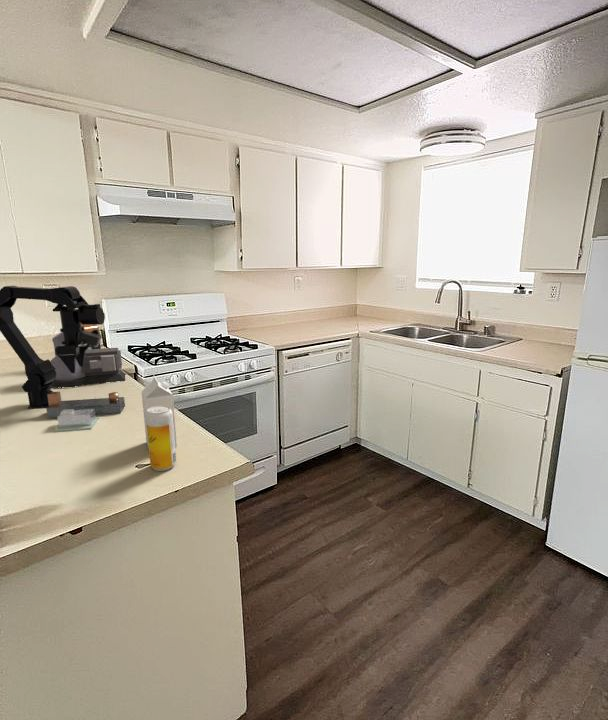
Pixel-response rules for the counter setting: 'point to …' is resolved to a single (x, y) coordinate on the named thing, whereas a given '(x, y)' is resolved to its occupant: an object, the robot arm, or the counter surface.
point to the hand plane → (85, 404)
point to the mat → (76, 427)
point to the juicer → (88, 367)
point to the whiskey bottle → (91, 328)
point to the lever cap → (76, 417)
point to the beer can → (161, 437)
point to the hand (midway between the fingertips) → (77, 369)
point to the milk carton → (157, 400)
